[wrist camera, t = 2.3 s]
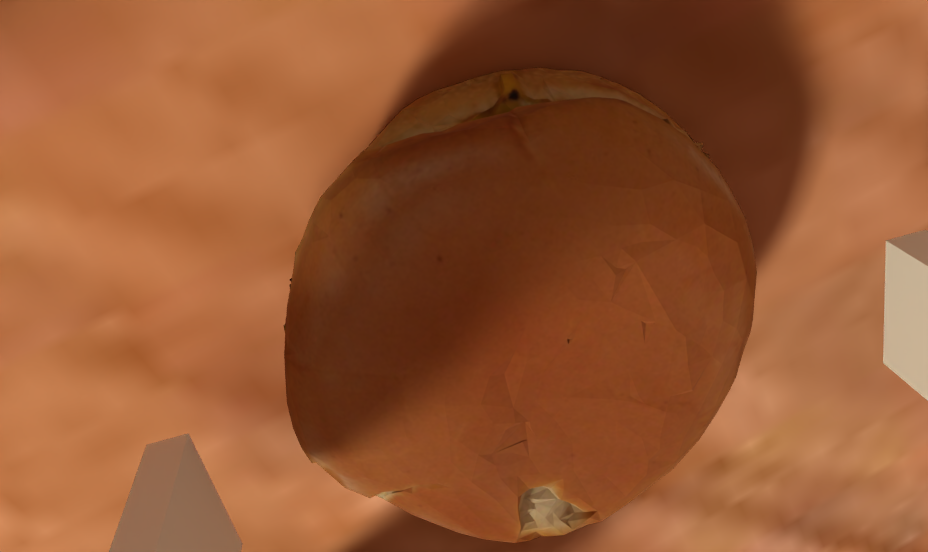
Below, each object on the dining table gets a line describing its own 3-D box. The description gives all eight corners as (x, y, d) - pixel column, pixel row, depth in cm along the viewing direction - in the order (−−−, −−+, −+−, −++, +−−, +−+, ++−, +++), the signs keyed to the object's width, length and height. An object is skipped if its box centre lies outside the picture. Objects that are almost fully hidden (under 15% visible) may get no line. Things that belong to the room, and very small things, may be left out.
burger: (632, -20, 16) (741, 16, 11) (742, 334, 20) (850, 453, 16) (192, 194, 16) (144, 302, 12) (392, 493, 20) (408, 647, 16)
